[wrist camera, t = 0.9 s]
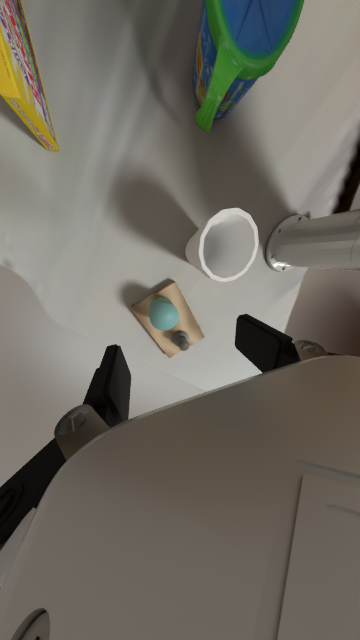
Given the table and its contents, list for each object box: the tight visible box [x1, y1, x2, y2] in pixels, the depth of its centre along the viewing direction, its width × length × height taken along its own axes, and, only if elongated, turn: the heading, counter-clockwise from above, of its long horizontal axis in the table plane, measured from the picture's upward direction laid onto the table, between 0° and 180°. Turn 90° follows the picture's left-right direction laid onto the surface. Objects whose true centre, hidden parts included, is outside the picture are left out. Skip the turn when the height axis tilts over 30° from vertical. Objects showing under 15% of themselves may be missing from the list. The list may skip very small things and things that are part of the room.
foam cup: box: [185, 208, 259, 282], centre depth 26 cm, size 10×9×13 cm
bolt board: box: [131, 281, 204, 358], centre depth 35 cm, size 12×18×6 cm, turn 27°
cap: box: [149, 297, 179, 330], centre depth 31 cm, size 6×6×5 cm
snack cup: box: [193, 0, 304, 132], centre depth 17 cm, size 16×10×10 cm
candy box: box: [0, 0, 59, 151], centre depth 14 cm, size 16×2×8 cm, turn 179°
